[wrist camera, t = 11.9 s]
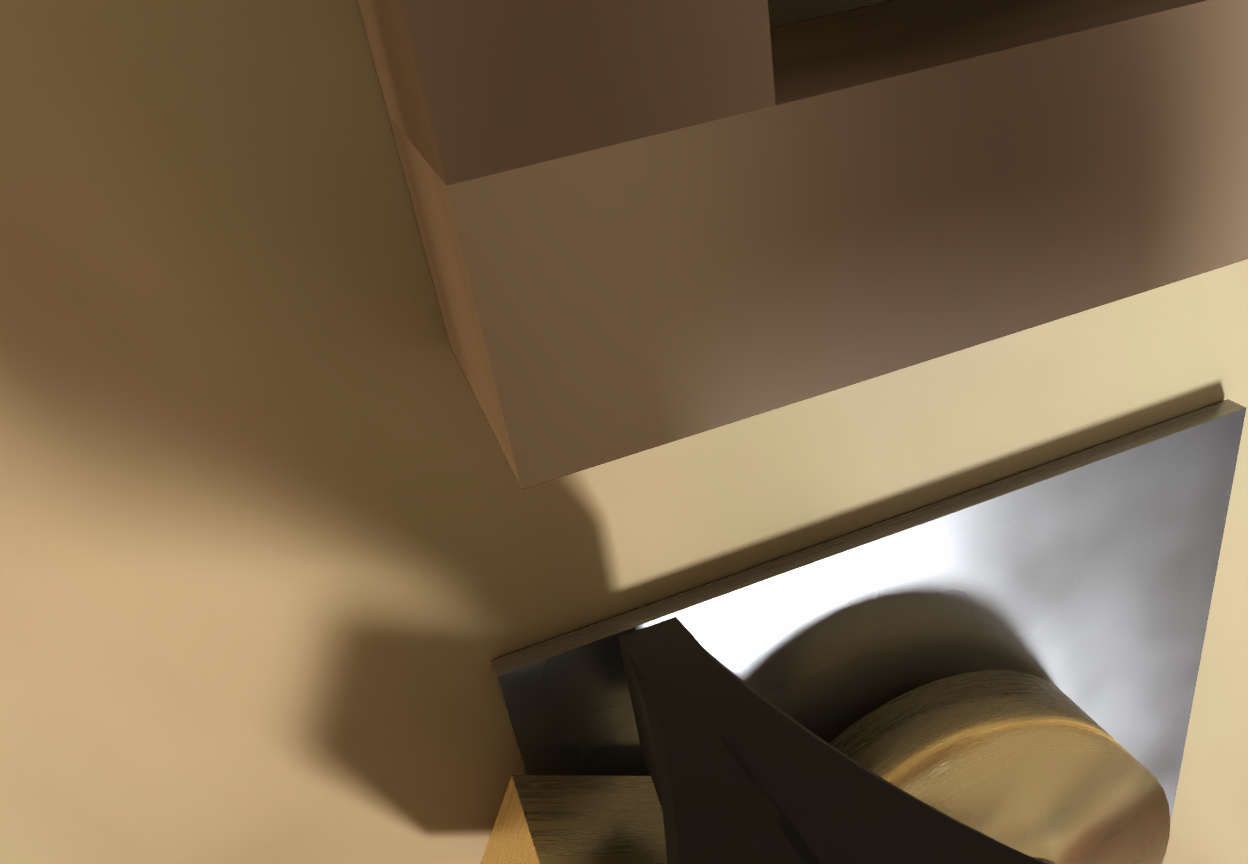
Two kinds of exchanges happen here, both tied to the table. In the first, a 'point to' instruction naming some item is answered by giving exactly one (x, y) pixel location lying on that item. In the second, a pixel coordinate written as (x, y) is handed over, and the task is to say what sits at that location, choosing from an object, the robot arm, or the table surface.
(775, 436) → the table surface
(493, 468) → the table surface
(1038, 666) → the plate
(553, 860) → the ring nut
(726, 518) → the table surface
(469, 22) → the socket block
